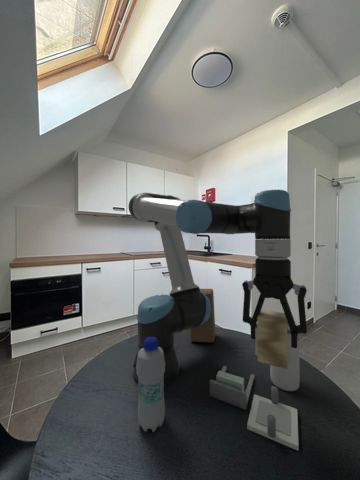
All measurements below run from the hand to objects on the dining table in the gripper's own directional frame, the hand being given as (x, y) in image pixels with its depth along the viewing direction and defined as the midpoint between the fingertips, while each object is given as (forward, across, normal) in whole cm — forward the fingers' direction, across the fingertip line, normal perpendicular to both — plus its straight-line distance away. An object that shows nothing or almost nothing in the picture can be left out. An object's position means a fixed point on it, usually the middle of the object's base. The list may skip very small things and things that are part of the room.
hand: (273, 356), depth 47 cm
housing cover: (+15, -11, +3) cm, 19 cm away
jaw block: (0, 0, 0) cm, 0 cm away
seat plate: (+15, 0, 0) cm, 15 cm away
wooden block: (+15, -30, +28) cm, 44 cm away
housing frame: (+15, -11, +7) cm, 20 cm away
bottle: (+15, -25, -14) cm, 33 cm away
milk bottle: (+15, +2, +15) cm, 22 cm away
